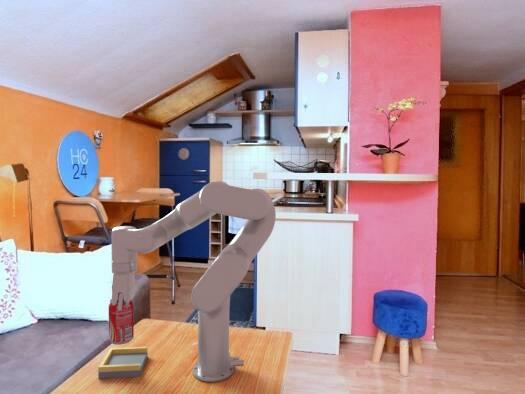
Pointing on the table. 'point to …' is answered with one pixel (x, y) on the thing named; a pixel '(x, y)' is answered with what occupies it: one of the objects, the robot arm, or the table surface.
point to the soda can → (121, 323)
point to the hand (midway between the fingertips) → (125, 323)
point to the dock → (123, 362)
